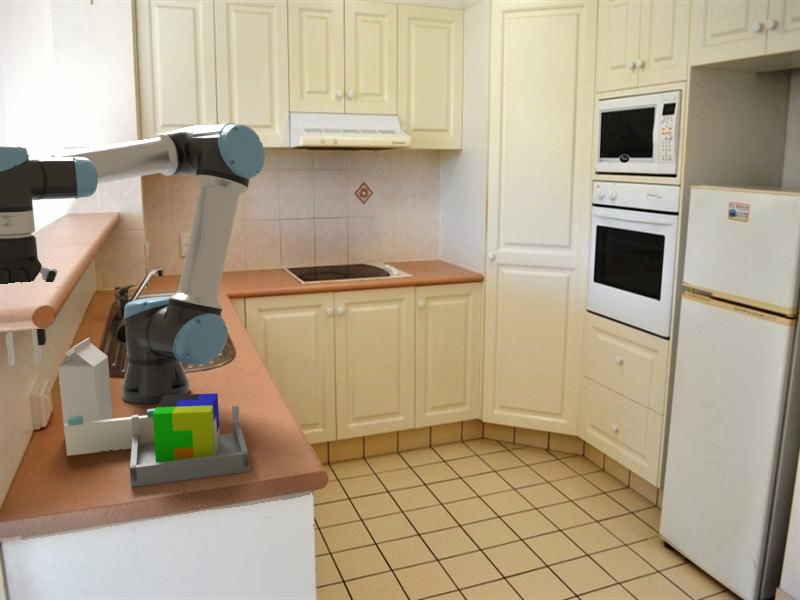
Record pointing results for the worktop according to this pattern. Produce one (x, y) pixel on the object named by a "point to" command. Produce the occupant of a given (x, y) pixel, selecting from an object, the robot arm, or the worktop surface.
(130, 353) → the robot arm
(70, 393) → the milk carton
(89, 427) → the cover panel
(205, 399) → the puzzle toy
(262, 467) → the worktop surface
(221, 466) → the grey tray
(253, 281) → the worktop surface
